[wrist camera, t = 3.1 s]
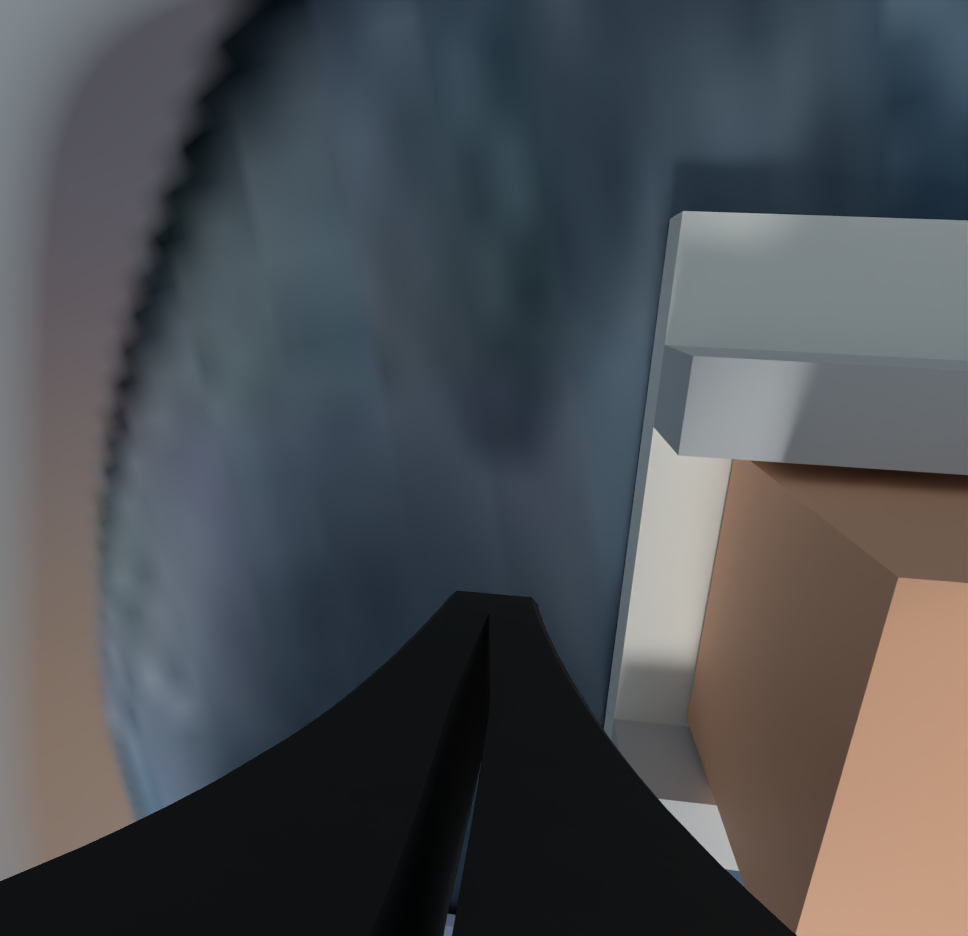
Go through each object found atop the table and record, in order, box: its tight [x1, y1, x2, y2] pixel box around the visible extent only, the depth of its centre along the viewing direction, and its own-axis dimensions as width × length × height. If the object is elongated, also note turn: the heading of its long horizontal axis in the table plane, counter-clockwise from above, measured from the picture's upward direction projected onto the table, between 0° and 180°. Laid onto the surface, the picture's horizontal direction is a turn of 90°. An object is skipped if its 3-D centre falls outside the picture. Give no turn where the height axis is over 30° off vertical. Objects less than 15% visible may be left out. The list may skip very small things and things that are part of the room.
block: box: [687, 459, 968, 936], centre depth 9 cm, size 5×6×5 cm
